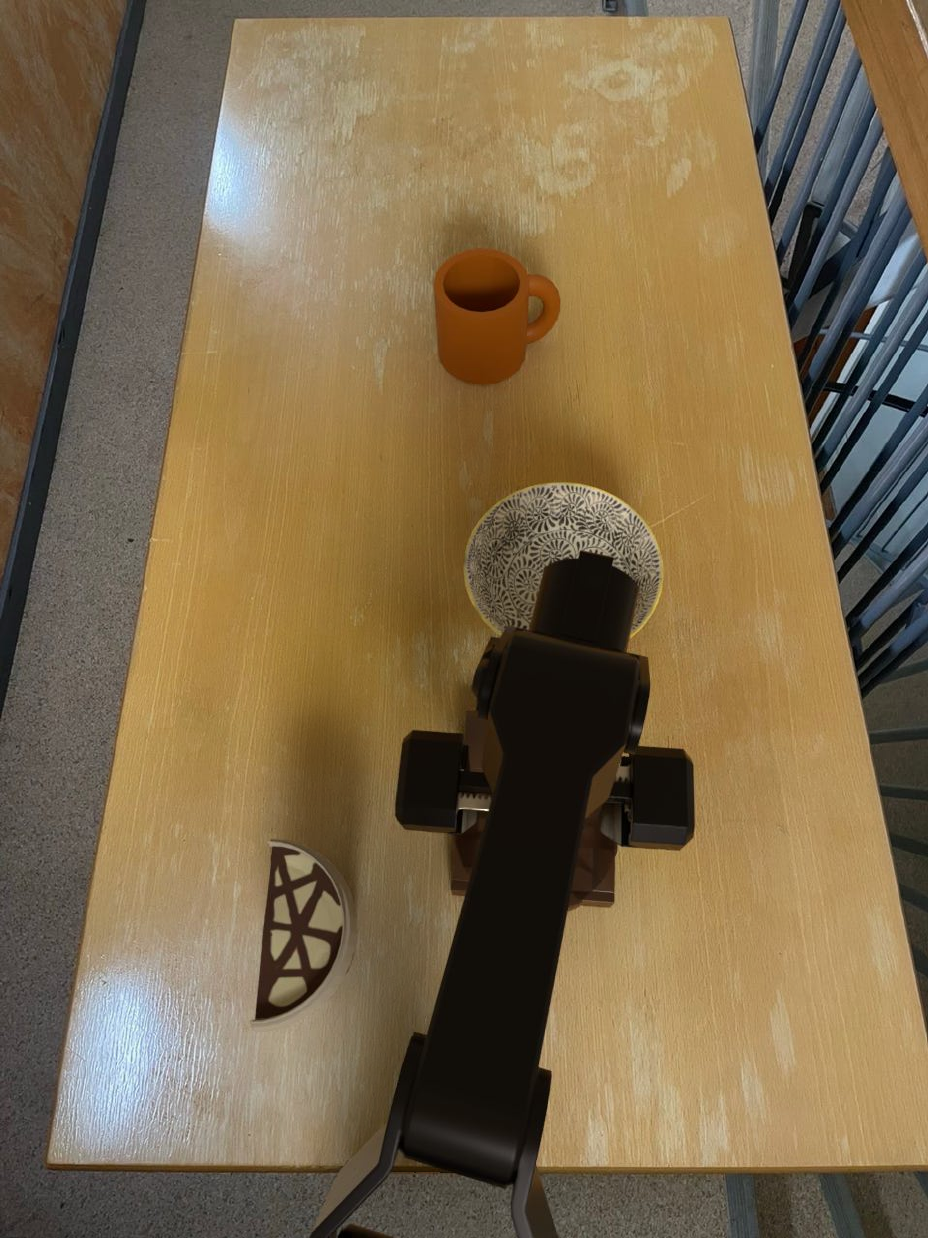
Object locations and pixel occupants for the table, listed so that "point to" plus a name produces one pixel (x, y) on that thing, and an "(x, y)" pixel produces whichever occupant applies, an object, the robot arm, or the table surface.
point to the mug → (488, 314)
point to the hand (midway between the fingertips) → (537, 818)
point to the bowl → (555, 549)
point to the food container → (302, 936)
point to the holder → (594, 852)
